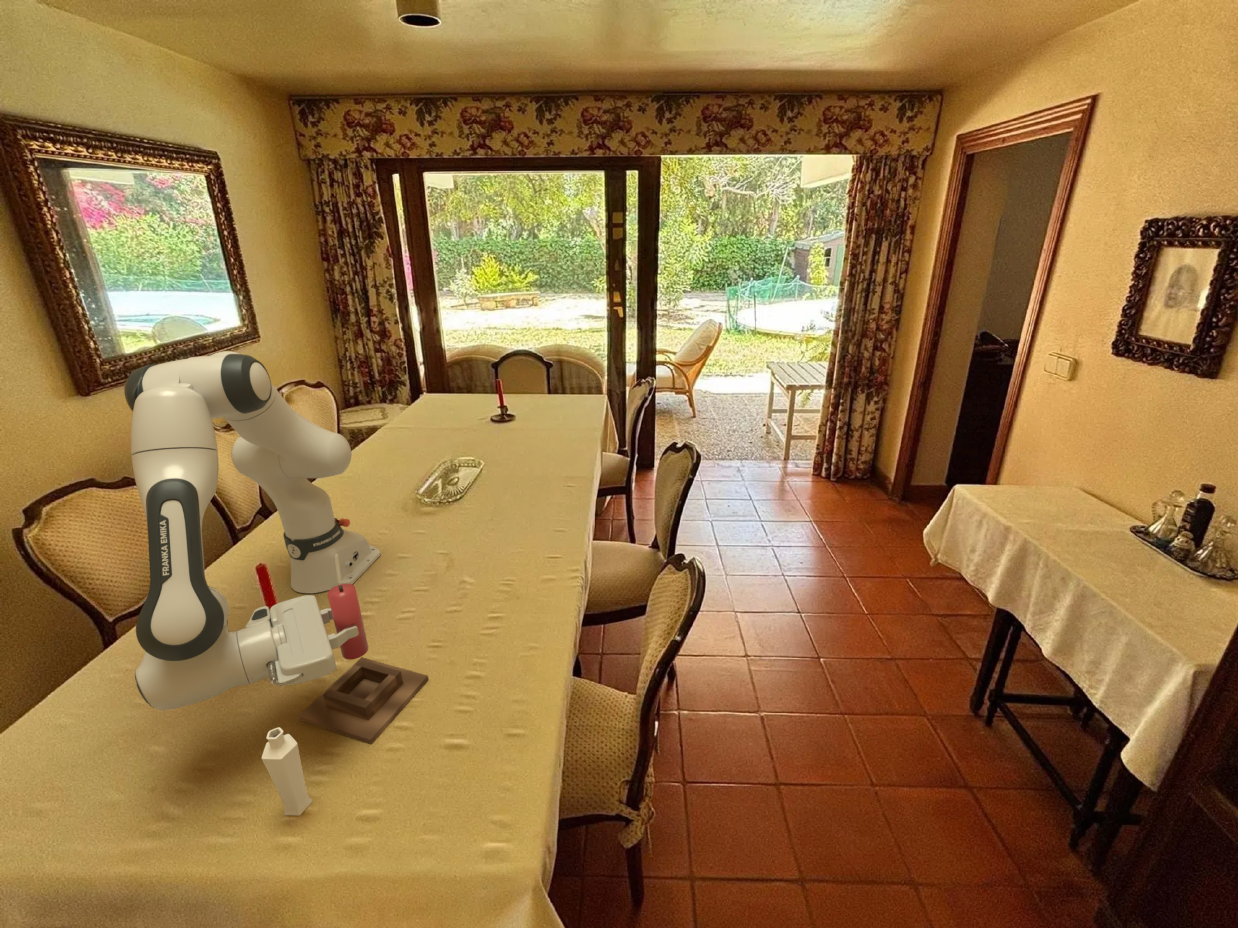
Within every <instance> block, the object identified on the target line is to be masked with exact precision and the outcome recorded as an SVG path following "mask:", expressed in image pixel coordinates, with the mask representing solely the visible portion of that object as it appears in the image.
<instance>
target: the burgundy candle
mask: <svg viewBox="0 0 1238 928" xmlns="http://www.w3.org/2000/svg"><path fill="white" fill-rule="evenodd" d="M327 599H328V603H329V607H330V608H331V611H332V615H333V619H334V620H333V623H334V627H335V631H336V634H338V633H339V632H341V631H343V630H344V629H345V626H347V625H351V624H353V623H355V624H356V626H357V628H358V632H359V634H358V636H356V637H353V638H350V639H348V640H347V641H346V642H345V643H343V644H342V645H341V646H340V647H339V648H340V652H341V656H342V658H344V659H345V660H356V659H360V658H361V657H363V656H365V655H366V654H367V653H368V651H369V644H368V640H367V634H366V630H365V625H364V620H363V617H362V616H363V615H362V612H361V606H360V603H359V598H358V594H357V589H356V586H355V585H354V584H341V585H337V586H335V587H333V588H332V589H330V590H328V592H327Z"/></svg>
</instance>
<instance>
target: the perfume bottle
mask: <svg viewBox="0 0 1238 928" xmlns="http://www.w3.org/2000/svg"><path fill="white" fill-rule="evenodd" d="M265 739H266V740H267V742H266V744H265V745H264V749H263V752H262V755H261V760H262V762H263V764H264V766H265V768H266V770H267V772H268V774H269V777H270V779H271V781H272V783H273V785H274V787H275V789H276V791H277V792H278V795H279V797H280V799H281V801H282V803H283V805H284V806H283V809H284V810H283V815H284V816H301V815H302V813H304V812H305V810H306V809H307V808H308V807H309V806H310V805H311V804H312V803H313V799H312V798H311V797H310V796H309V795H308V792H307V787H306V782H305V781H306V780H305V776H304V772H303V766H302V760H301V756H300V755H301V754H300V751H299V749H300V748H299V745H298V742H297V740H295V739H294V737H293V736H292V735H291V734H290V733H286V734H284V730H283V729H282V728H281V727H279V726H278V727H275V728H273V729H270V730H269V731H268V732H267V735H266V738H265Z"/></svg>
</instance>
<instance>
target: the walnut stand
mask: <svg viewBox="0 0 1238 928" xmlns="http://www.w3.org/2000/svg"><path fill="white" fill-rule="evenodd" d="M428 681H429V675H427V674H424V673H421V672H418V671H417V672H416V671H413V670H408V669H406V668H401V667H398V666H394V665H391V664H388V663H384V662H381V661H377V660H374V659H370V658H367V657H363V656H361V657H359V658H358V660H357V661H356V662H355V663H353V664H352V665H351V666H350V667H349V668H348V669H347V670H346V671H345V672H344V673H342V675H341V676H340V677H338V678H337V680H335V681H334V682H333V683H332V684H331V685H330V686H328V688H326V689H325V690H324V691H323V692H322V693H321V694H320V695H319V696H318V697H316V699H314V701H313V702H312V703H310V704H309V705H308V706H307V707H306V708H305V709H304V710H302V712H301V713H299V715H298V716H297V717H298V720H299V721H301V722H304V723H308V724H310V725H313V726H316V727H319V728H322V729H325V730H328V731H331V732H334V733H336V734H340V735H343V736H346V737H349V738H351V739H355V740H357V741H361V742H363V743H367V744H370V745H372V744H373V743H374V742H375V741H376V740H377V738H379V736H380V735H381V734H382V733H383V732H384V730H386V728H388V727H389V725H390V724H391V723H392V721H394V720H395V718H396V717H397V716H398V715H399V714H400V713H401V712H402V710H403V709H404V708H405V707H406V706H407V705H408V703H409V702H410V701H411V700H412V699H413V698H414V697H415V695H416V694H417V693H418V692H419V691H420V690H422V689H421V688H423V687H424V686H425V685H426V683H427V682H428Z"/></svg>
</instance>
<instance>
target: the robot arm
mask: <svg viewBox="0 0 1238 928" xmlns="http://www.w3.org/2000/svg"><path fill="white" fill-rule="evenodd" d="M123 387H124V390H123V391H124V397H125V401H126V403H127V405H128V407H129V409H130V410H131V412H132V418H131V425H130V427H131V428H130V429H131V430H130V450H131V451H130V453H131V463H132V464H131V465H132V470H133V476H134V481H135V485H136V488H137V491H138V492H137V493H138V496H139V498H140V501H141V505H142V509H143V513H144V516H145V520H146V525H147V527H146V528H147V540H148V541H147V542H148V543H147V544H148V545H147V546H148V562H149V589H148V593H147V596H146V599H145V601H144V603H143V606H142V608H141V610H140V613H139V614H138V617H137V621H136V625H135V634H136V635H135V636H136V638H137V639H136V640H137V641H138V643H139V645H140V647H141V648H142V649H143V650H144V654H143V657H142V658H141V662H140V663H139V665H138V666H137V668H136V669H135V671H134V680H135V682H136V687H137V690H138V692H139V694H140V696H141V697H142V698H143V701H145V702H146V704H148V705H149V706H150V707H151V708H153V709H156V710H158V711H168V710H169V711H170V710H175V709H180V708H183V707H187V706H190V705H194V704H197V703H200V702H204V701H206V700H209V699H212V698H215V697H217V696H220V695H222V694H223V693H224V692H227V691H228V690H230V689H232V688H235V687H240V686H247V685H251V684H255V683H257V682H259V681H261V680H265V679H267V678H268V680H269V682H270V684H272V685H274V686H279V687H285V686H288V685H290V686H292V685H299V684H302V683H306V682H311V681H314V680H317V679H321V678H323V677H326V676H330V675H331V674H332V673H333V672H335V671H336V669H337V663H336V659H335V656H334V652H333V650H335V649H338V648H340V646H341V645H342V644H343V643H345V642H346V641H347V640H348V639H350V638H353V637H356V636H358V634H359V632H358V628H357V626H356V624H355V623H353V624H351V625H347V626H345V629H344V630H343V631H341V632H339V633H338V634H337V633H334V632H333V633H331V634H328V632H327V629H326V627H325V624H328V623H330V622H331V621H332V620H333V621H334V619H333V615H332V611H331V607H330V608H329V607H327V608H324V609H320V606H319V604H318V601H317V598H316V595H313V594H317V593H323V592H327V591H329V590H330V589H332V588H333V587H335V586H337V585H341V584H352V585H354V583H355V582H356V581H357V580H358V579H359V578H360V577H361V576H362V575H363V574H364V573H365V571H367V570H368V569H369V568H370V567H371V565H372V564H374V562H375V561H377V559H378V558H379V557H380V556H381V555H382V554H381V550H380V549H379V548H377V547H376V546H374V545H370V544H369V542H368V540H367V538H366V537H365V536H363V535H362V534H360V533H358V532H355V531H351V530H347V529H343V527H345V528H347V527H348V528H349V526H351V525H350V524H351V521H350V519H348V518H343V517H342V518H340V519H338V518H336V517H335V515H334V510H333V506H332V501H331V496H330V495H329V494H328V492H327V491H326V490H324V489H323V488H322V487H320V486H317V485H316V484H314V483H312V482H311V481H309V479H324V478H329V477H335V476H339V475H342V474H343V473H344V472H345V471H346V470H347V469H348V467H349V465H351V464H350V463H351V460H352V449H351V445H350V443H349V442H348V440H347V439H346V437H344V435H342V434H340V433H337V432H334V431H330V430H328V429H326V428H324V427H322V426H319V425H318V424H316V423H314V422H312V421H310V420H309V419H307V418H306V417H304V415H303V416H302V415H301V414H300V413H299V412H297V411H296V410H295V409H293V407H292V406H290V404H289V403H288V401H286V399H284V397H283V396H282V395H281V393H280V392H279V391H278V389H277V388H276V387H275V386H274V384H273V383H272V380H271V377H270V375H269V372H268V369H267V368H266V366H265V365H264V364H263V363H262V362H260V361H259V360H258V359H257V358H255V357H254V356H252V355H248V354H243V353H242V354H241V353H239V352H236V351H230V350H224V351H219V352H216V353H213V354H211V355H202V356H201V355H200V356H191V357H188V358H183V359H177V360H172V361H167V362H163V363H159V364H158V363H150V364H147V365H144V366H142V367H138V368H136V369H134V370H132V371H131V373H130V374H129V376H128V377H127V379H126V381H125V384H124V386H123ZM220 418H221V419H222V418H223V419H224V420H225V421H226V422H227V423H228V424H229V425H230V427H231V428H233V430H235V432H236V433H237V434H238V435H239V437H238V438H236V440H235V441H234V443H233V445H232V447H231V456H230V457H231V460H232V461H231V462H232V464H233V466H234V468H235V469H236V470H237V471H238V472H239V474H241V475H243V476H245V477H247V478H249V479H251V480H252V481H253V482H255V484H257V485H258V486H260V487H261V488H262V490H264V492H265V493H266V494H267V495H268V496H269V498H270V499H271V500H272V502H273V503H274V506H275V508H276V509H277V511H278V515H279V519H280V521H281V525H282V528H283V535H282V537H283V539H284V544H285V545H284V546H285V548H286V550H287V552H288V555H289V561H290V587H291V589H292V590H293V591H295V592H298V593H300V594H306V595H301V596H296V597H293V598H291V599H286V600H284V601H280V602H278V603H275V604H274V605H272V606H271V607H270V608H269V606H266V605H264V606H259V607H256V609H254V610H253V613H252V614H251V616H250V619H249V620H248V622H247V623H246V624H245V627H244V628H242V629H238V630H236V631H229V624H228V623H229V616H230V615H229V613H230V610H229V603H228V601H227V598H226V597H225V596H224V595H223V594H222V593H221V591H219V590H217V589H216V588H214V587H212V586H210V585H208V582H207V579H206V575H205V573H206V572H205V559H204V546H203V545H204V544H203V532H202V531H203V529H202V528H203V520H204V516H205V512H206V510H207V508H208V505H210V502H211V500H212V499H213V497H214V495H215V494H216V492H217V489H218V488H217V487H218V479H219V470H220V469H219V465H220V464H219V453H218V452H219V451H218V443H217V437H216V432H215V427H214V423H213V420H214V419H220ZM310 594H311V595H310Z"/></svg>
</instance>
